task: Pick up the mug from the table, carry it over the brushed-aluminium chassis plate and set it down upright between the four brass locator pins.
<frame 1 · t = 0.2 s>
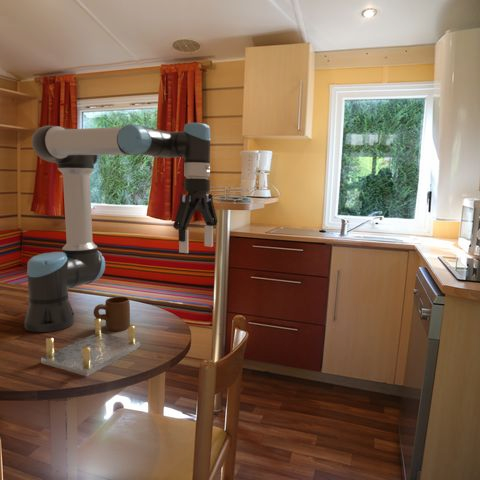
hand: (196, 249, 119), 28 cm above the table, fingers open, 13 cm apart
mug: (112, 329, 128), on the table
chassis: (93, 354, 109), on the table
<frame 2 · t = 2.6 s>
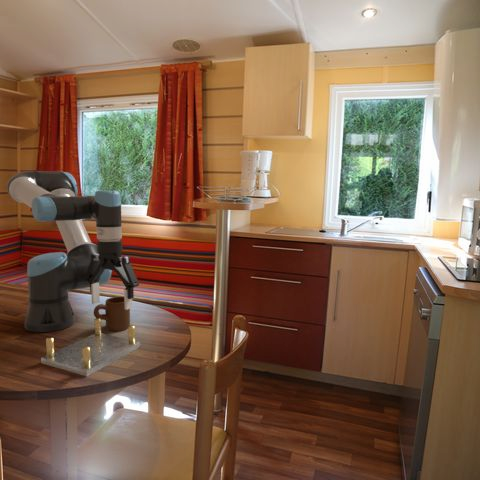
hand: (111, 305, 127), 8 cm above the table, fingers open, 13 cm apart
nothing on the table moved.
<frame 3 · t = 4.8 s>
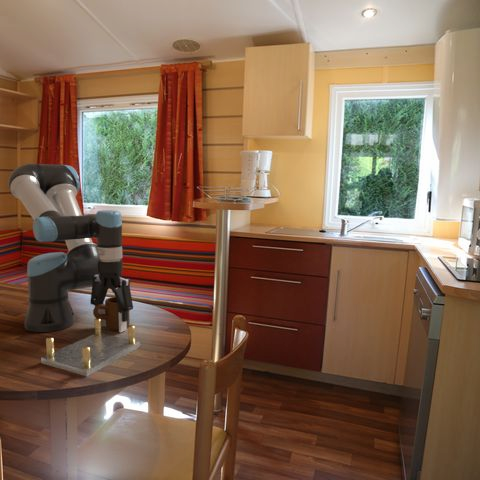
hand: (112, 328, 128), 0 cm above the table, fingers open, 8 cm apart
mug: (111, 329, 129), on the table, touching gripper
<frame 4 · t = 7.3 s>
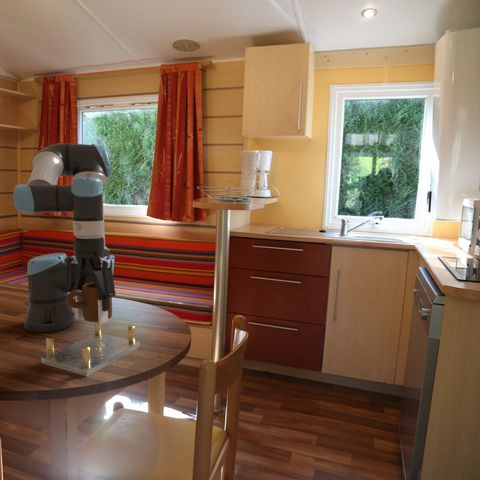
hand: (91, 319, 108), 10 cm above the table, fingers closed on mug, 7 cm apart
mug: (90, 320, 108), point 10 cm above the table, touching gripper
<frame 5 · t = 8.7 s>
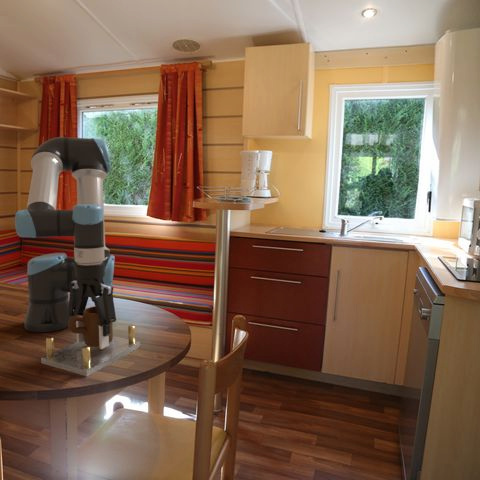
hand: (92, 344, 109), 3 cm above the table, fingers closed on mug, 7 cm apart
mug: (91, 345, 109), point 3 cm above the table, touching gripper
when the fingers open (3 cm above the table, at t = 9.6 s): mug stays where it is, resting on chassis.
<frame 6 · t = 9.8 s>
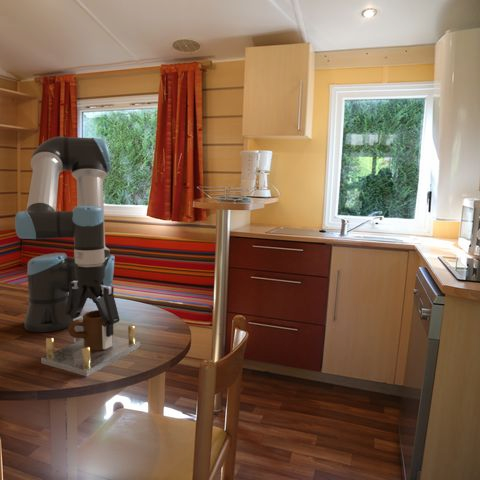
hand: (92, 343, 109), 3 cm above the table, fingers open, 10 cm apart
mug: (91, 349, 110), point 1 cm above the table, touching chassis
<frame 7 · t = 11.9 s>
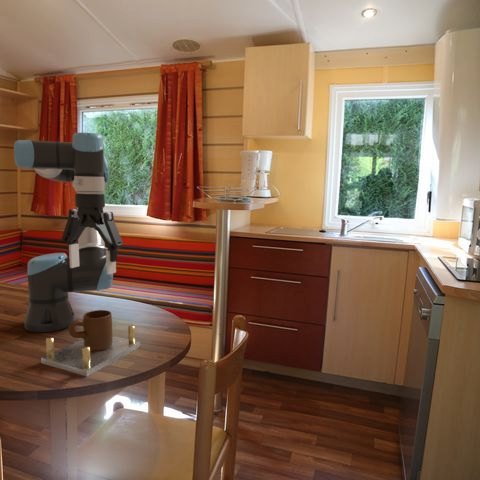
hand: (92, 270, 109), 23 cm above the table, fingers open, 13 cm apart
nothing on the table moved.
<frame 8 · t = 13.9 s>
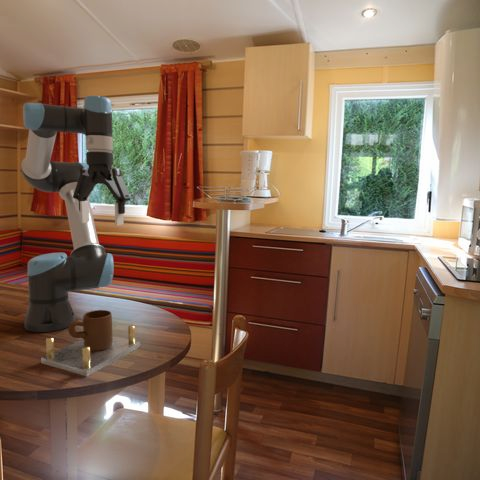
hand: (101, 223, 120), 35 cm above the table, fingers open, 13 cm apart
nothing on the table moved.
at the end: mug inside the target area on the chassis (0.9 cm from its centre), point 1.3 cm above the chassis's base; mug tilted 0°; the gripper is holding nothing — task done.
